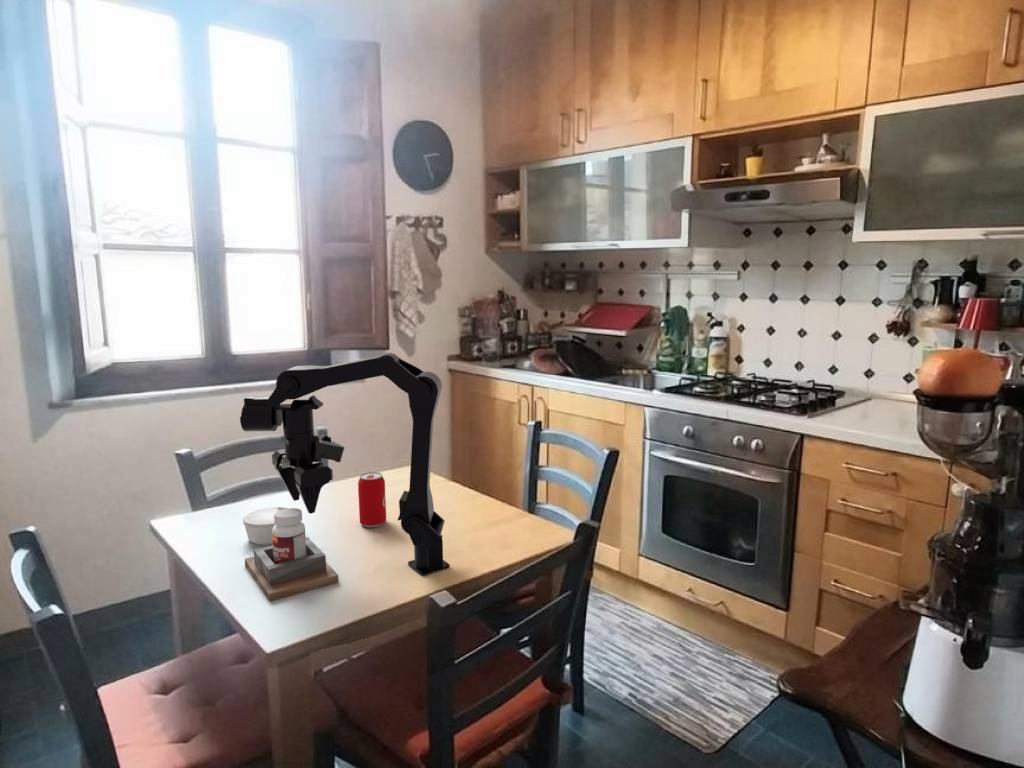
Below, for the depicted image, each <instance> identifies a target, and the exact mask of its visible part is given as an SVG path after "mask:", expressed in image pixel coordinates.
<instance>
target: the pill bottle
mask: <svg viewBox="0 0 1024 768" xmlns="http://www.w3.org/2000/svg"><path fill="white" fill-rule="evenodd" d="M286 508H287V509H282V510H279V511H277V512H275V514H274V523H275V524H276V525H275V526H274V527H273V529H272V538H273V544H272V545H273V557H274V564H279V563H283V562H287V561H291V560H295V559H299V558H303V557H306V537H307V536H306V526H305V523H303V522H302V521H303V512H302V509H300V508H297V507H295V508H293V507H291V508H288V507H286Z"/></svg>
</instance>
